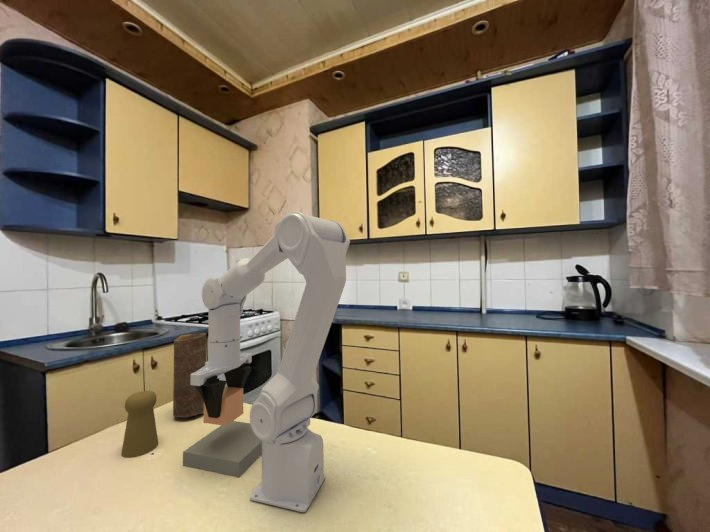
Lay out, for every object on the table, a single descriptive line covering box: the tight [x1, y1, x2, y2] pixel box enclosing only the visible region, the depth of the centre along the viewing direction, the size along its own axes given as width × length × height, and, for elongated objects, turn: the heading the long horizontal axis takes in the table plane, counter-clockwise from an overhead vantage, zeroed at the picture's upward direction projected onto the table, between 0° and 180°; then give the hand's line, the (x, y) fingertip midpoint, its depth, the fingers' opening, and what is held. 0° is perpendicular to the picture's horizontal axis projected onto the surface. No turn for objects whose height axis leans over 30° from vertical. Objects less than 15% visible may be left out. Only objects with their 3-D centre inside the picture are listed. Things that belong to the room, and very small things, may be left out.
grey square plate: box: [182, 420, 262, 479], centre depth 57 cm, size 12×12×3 cm
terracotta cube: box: [203, 386, 244, 426], centre depth 56 cm, size 5×5×5 cm
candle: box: [172, 332, 207, 418], centre depth 73 cm, size 8×7×20 cm
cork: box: [120, 390, 159, 459], centre depth 59 cm, size 6×6×11 cm
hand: (224, 410), depth 56 cm, fingers closed on terracotta cube, 5 cm apart
